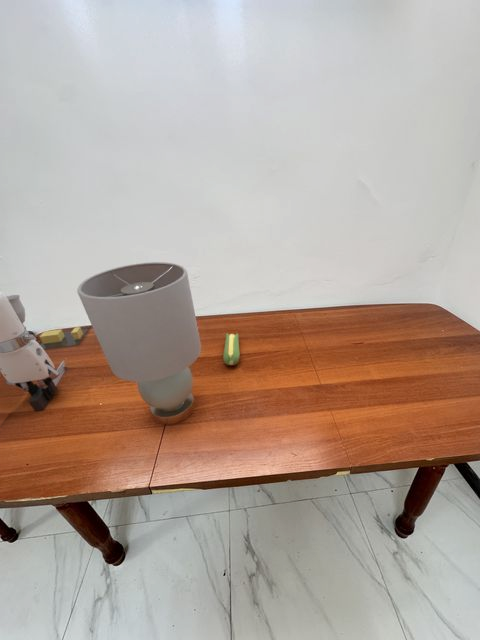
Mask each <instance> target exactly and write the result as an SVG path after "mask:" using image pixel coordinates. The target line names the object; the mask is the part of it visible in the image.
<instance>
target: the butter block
mask: <svg viewBox="0 0 480 640" xmlns="http://www.w3.org/2000/svg"><path fill="white" fill-rule="evenodd" d="M63 332H64V331H63V329H62V328H61V329H53V330H45V331H43V332H42V333H41V334H40V335H39V338H40V341H41V343H42V342H43V344H46V343H54V342H61V341H62V339H63V338H64V337H65V335H64V333H63Z"/></svg>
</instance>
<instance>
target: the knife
mask: <svg viewBox="0 0 480 640" xmlns="http://www.w3.org/2000/svg"><path fill="white" fill-rule="evenodd" d="M66 364H67V363H66V362H65V360H62V361H61V362H60V364H59V365H58V367H57V369H55V370H56V371H57V372H59V373H60V374H59V376H58V377H57V378H56V379H54V380H52V381H51V382H50V384H51V386H52V388H53V390H54V392H55V393H56V391H57V390H58V387H57V385H58V383H59V382H60V381H61V379H62V377H63V376H64V374H65V373H66V372H67V369H68V366H66ZM38 387H39V388H38V389H37V391H36V392H35V393H34V395H33V396H32V397H31V398H30V399H29V400H28V403H29V405H30V406H31V408H32V409H33V410H34V412H41V411H45V409H46V408H47V406H48V404H49V403H50V401H51V400H47V399H46V397H45V396H44V394H43V392H42V391H41V389H42V387H41V385H40V384H39V385H38Z"/></svg>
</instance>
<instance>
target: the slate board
mask: <svg viewBox="0 0 480 640" xmlns="http://www.w3.org/2000/svg"><path fill="white" fill-rule="evenodd" d="M81 330H82V332H83V335H82V337H81V338H80V339H76V340H74V338H73V336H72V334H71V332H72V331H73V330H68V331H67V330H66V331H63V333H64V335H65V337H64V338H63V339H62V341H61V342H54V343H46V344H43V342H42V341H41V343H39V345H40V346H41V347H42V348H43V349H44V350H48V349H55V348H65V347H70V346H77V345H79V343H81V341H82V339H83V338H84V336H85V334H86V333H87V331H88V330H89V328H83V329H82V328H81Z"/></svg>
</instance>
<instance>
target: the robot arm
mask: <svg viewBox="0 0 480 640" xmlns="http://www.w3.org/2000/svg"><path fill="white" fill-rule="evenodd" d="M6 296H7V295H6V294H5V293H4V292H2V291H0V373H1V374H2V376H3V377H4V379H5V382H6V384H7V386H8V385H9V386H15V387H18V388H21V389H23V391H24V392H28V394H29V395H30V397H31V398H32V396H33V395H34V393H35V392H36V391H37V389H38V388H39V386H40V385H41V387H42V389H41V391H42V392H43V394H44V396H45V397H46V399H47V400H50V401H51V400H52V398H53V397H54V396H55V393H56V391H55V392H54V390H53V388H52V386H51V384H50V382H51V381H52V380H54V379H56V378H57V377H58V376H59V374H60V373H59V372H57V371H56V370H57V369H55V368H56V367H55V364H54V362H53V361H52V359H51V358H50V357H49V355H48V353H47V352H46V350H45V349H43V348H42V347H41V346H40V343H39V342H38V341H37V340H36V341H35V340H34V337H35V335H34V334H32V333H31V334H30V333H29V334H28V333H27V331H28V330H27V329H26V330H27V331H26V330H25V328H24V327H23V325H24V324H23V325H22V323H21V321H20V320H19V318H18V316H17V314H16V313H15V311H14V309H13V307H12V306H11V304H10V302H9V300H8V299H7V297H6ZM34 381H37V382H38V384H39V385H38V384H37V383H34Z"/></svg>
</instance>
